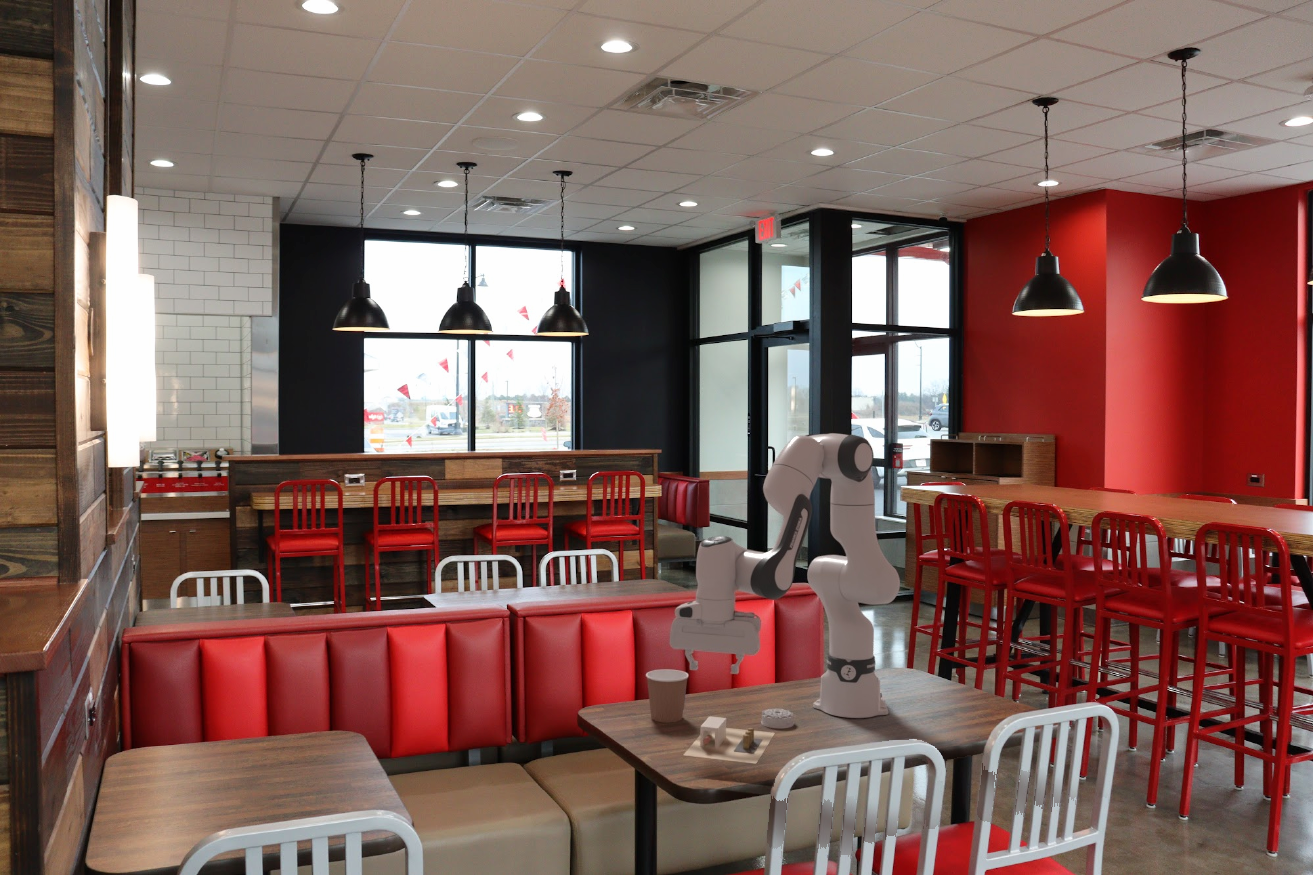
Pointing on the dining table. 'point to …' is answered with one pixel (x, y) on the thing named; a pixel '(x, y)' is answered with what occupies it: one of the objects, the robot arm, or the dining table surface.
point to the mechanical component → (777, 718)
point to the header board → (734, 746)
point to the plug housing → (713, 725)
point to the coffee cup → (667, 694)
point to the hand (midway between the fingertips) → (714, 671)
